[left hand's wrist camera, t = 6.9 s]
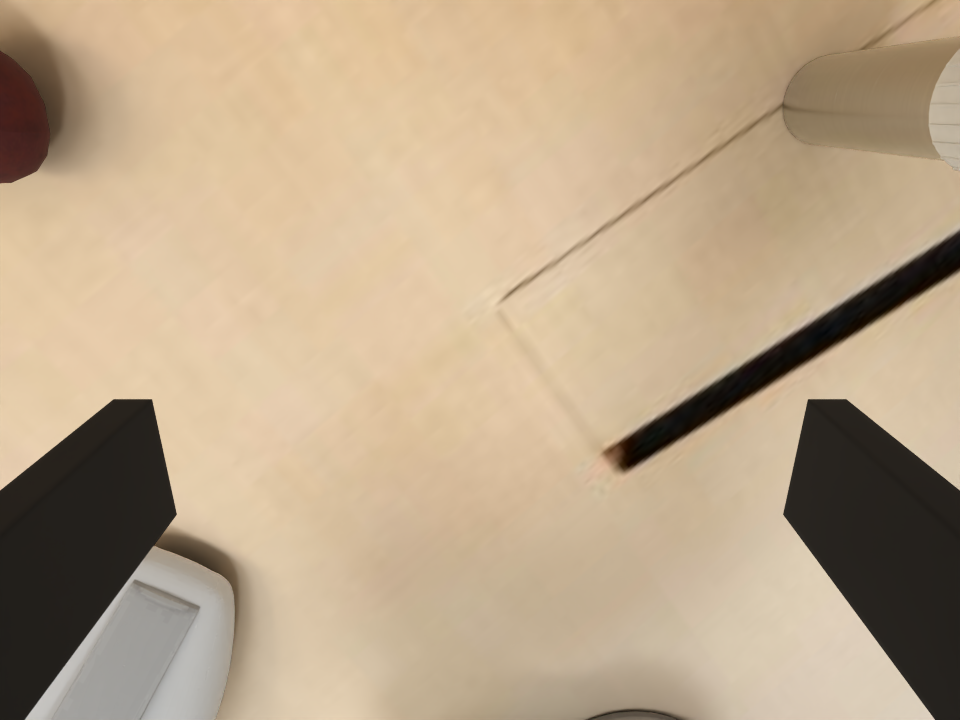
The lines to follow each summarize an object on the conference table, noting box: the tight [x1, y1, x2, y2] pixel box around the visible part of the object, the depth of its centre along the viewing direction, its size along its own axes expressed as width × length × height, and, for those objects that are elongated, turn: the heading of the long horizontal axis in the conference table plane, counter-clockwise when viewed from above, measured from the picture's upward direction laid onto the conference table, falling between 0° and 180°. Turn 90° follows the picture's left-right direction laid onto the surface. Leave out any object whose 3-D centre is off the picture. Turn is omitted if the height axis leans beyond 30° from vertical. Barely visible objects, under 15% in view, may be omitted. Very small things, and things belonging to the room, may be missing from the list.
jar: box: [783, 36, 960, 161], centre depth 29 cm, size 5×5×15 cm
